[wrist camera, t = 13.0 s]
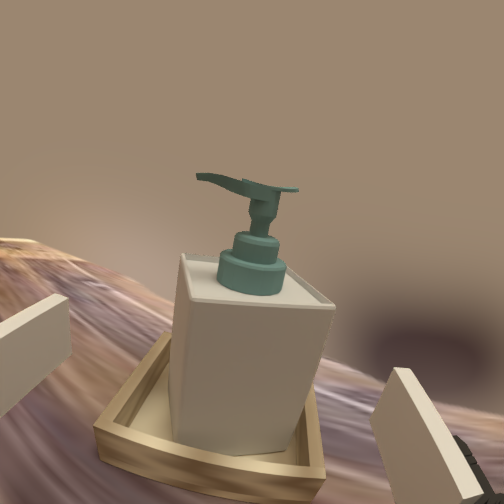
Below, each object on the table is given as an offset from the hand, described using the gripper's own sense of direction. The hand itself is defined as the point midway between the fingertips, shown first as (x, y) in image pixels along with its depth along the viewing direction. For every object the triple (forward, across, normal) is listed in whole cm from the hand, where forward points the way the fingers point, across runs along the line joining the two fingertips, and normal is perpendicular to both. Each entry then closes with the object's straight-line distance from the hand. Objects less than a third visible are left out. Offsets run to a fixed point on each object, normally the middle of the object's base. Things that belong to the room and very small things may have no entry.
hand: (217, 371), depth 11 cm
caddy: (+10, 0, -13) cm, 16 cm away
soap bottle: (+10, 0, -12) cm, 16 cm away
